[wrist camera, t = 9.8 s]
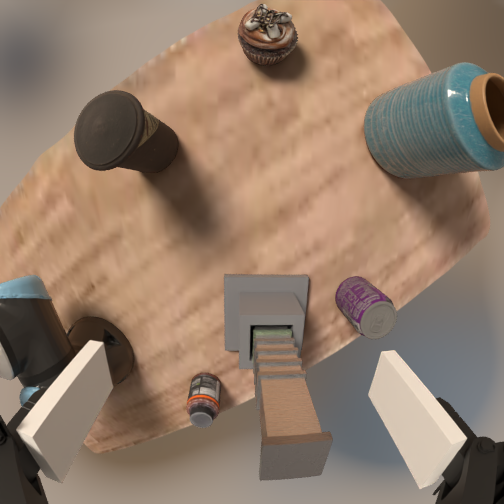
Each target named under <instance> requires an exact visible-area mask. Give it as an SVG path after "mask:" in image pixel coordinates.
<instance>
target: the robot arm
mask: <svg viewBox="0 0 504 504" xmlns="http://www.w3.org/2000/svg"><path fill="white" fill-rule="evenodd" d="M133 362H134V357H133V351H132V348H131V346H130V344H129V342H128V340H127V339H126V337H125V336H124V335H123V333H122V332H121V331H120V330H119V329H118V328H116V327H115V326H114V325H112V324H111V323H109V322H108V321H106V320H103V319H100V318H97V317H85V318H82V319H80V320H78V321H77V322H76V323H75V324H74V325H73V326H72V327H71V328H70V329H69V331H68V333H67V334H66V332H65V330H64V328H63V326H62V323H61V321H60V319H59V317H58V315H57V312H56V310H55V308H54V306H53V303H52V298H51V297H50V296H49V294H48V292H47V290H46V288H45V285H44V283H43V281H42V279H41V278H40V277H38V276H36V275H29V276H24V277H21V278H17V279H14V280H10V281H7V282H4V283H1V284H0V377H1V378H4V379H7V380H12V379H14V378H15V377H16V376H17V377H18V378H19V380H20V382H21V383H22V385H23V387H24V388H23V389H22V390H21V394H20V400H21V401H20V403H21V406H22V407H21V408H20V410H19V411H18V412H17V413H16V414H15V416H14V417H13V418H12V419H11V421H10V422H9V423H8V424H7V426H6V424H5V422H4V421H3V419H2V417H1V415H0V504H48V501H47V498H46V495H45V492H44V489H43V486H42V483H41V480H40V478H39V476H38V474H37V473H38V471H39V470H40V469H41V470H42V471H43V473H44V474H45V476H46V477H48V478H50V479H52V480H55V481H57V482H60V483H63V481H64V479H65V477H66V475H67V473H68V471H69V469H70V467H71V465H72V463H73V461H74V459H75V457H76V455H77V453H78V451H79V449H80V447H81V446H82V444H83V442H84V440H85V438H86V436H87V434H88V432H89V431H90V429H91V427H92V425H93V423H94V421H95V419H96V418H97V416H98V414H99V412H100V410H101V409H102V407H103V405H104V403H105V401H106V400H107V398H108V396H109V394H110V393H111V391H112V389H113V387H114V386H115V385H116V384H119V383H121V382H122V381H124V380H125V379H126V378H127V376H128V375H129V373H130V371H131V369H132V367H133ZM368 396H369V397H370V399H371V401H372V403H373V405H374V406H375V408H376V410H377V412H378V413H379V415H380V417H381V419H382V420H383V422H384V424H385V426H386V428H387V429H388V431H389V433H390V435H391V437H392V438H393V440H394V442H395V444H396V446H397V448H398V449H399V451H400V453H401V455H402V457H403V458H404V460H405V462H406V464H407V466H408V468H409V470H410V471H411V473H412V475H413V477H414V479H415V481H416V483H417V485H418V487H419V489H421V488H424V487H426V486H429V485H431V484H434V483H435V482H436V481H437V480H438V478H439V477H440V476H441V475H442V476H443V477H444V481H443V482H442V483H441V484H440V486H439V487H438V488H437V489H436V490H435V492H434V493H433V495H435V494H436V493H437V492H438V491H439V490H440V491H439V494H438V498H437V500H436V504H504V442H498V443H495V442H494V441H493V440H492V439H490V438H487V437H477V436H476V435H475V434H474V433H473V431H472V430H471V429H470V428H469V427H468V425H467V424H466V423H465V422H464V421H463V419H462V418H461V417H459V415H458V413H457V412H455V410H454V409H453V407H451V405H450V404H449V403H448V402H446V401H445V400H443V399H441V398H436V399H435V397H434V396H433V395H432V394H431V393H430V392H429V390H428V389H427V388H426V387H425V385H424V384H423V383H422V382H421V381H420V380H419V378H418V377H417V376H416V375H415V374H414V373H413V371H412V370H411V369H410V368H409V367H408V366H407V364H406V363H405V362H404V361H403V360H402V359H401V357H400V356H399V355H398V354H397V353H396V352H395V350H393V351H383V352H381V355H380V359H379V362H378V365H377V369H376V372H375V375H374V379H373V382H372V385H371V388H370V391H369V394H368Z"/></svg>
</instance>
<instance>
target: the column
mask: <svg viewBox="0 0 504 504" xmlns="http://www.w3.org/2000/svg"><path fill="white" fill-rule="evenodd" d="M291 336H292V331H291V329H288V327H287V325H255V330H253V358H252V362H253V374H254V385H255V397H256V410H259V413H260V424H261V434H262V442H261V455H260V468H259V476H260V480H279V479H291V478H302V477H311V476H318V475H321V474H322V471H323V468H324V465H325V462H326V459H327V456H328V453H329V450H330V447H331V444H332V441H333V439H332V436H331V433H330V432H322V431H321V428H320V424H319V421H318V418H317V415H316V412H315V409H314V406H313V403H312V400H311V397H310V394H309V391H308V388H307V385H306V375H307V374H306V370H302V369H301V368H302V359H301V358H298V347H294V346H295V339H294V338H291Z"/></svg>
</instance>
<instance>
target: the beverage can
mask: <svg viewBox="0 0 504 504" xmlns="http://www.w3.org/2000/svg"><path fill="white" fill-rule="evenodd" d="M335 299H336V304H337V306H338V308H339V309H340V310H341V311H342V313H343V314H344V315H345V316H346V318H347V319H348V320H349V321H350V323H351V324H352V325H353V327H354V328H355V329H356V330H357V332H359V333H360V334H361V335H364V336H366V337H367V338H370V339H379V338H382V337H384V336H385V335H387V334H388V333H389V332H390V331H391V330H392V329H393V327H394V325H395V323H396V320H397V312H396V309H395V307H394V305H393V303H392V301H391V300H390V299H389V298H388V297H387V296H386V295H385V294H383V293H382V292H381V291H380V290H378V289H377V288H376V287H374V286H373V285H372V284H371V283H369V282H368V281H367V280H366V279H364V278H362V277H358V276H355V277H350V278H348V279H346V280H345V281H343V282H342V283H341V284H340V286H339V287H338V289H337V292H336V297H335Z"/></svg>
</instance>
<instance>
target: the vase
mask: <svg viewBox="0 0 504 504" xmlns="http://www.w3.org/2000/svg"><path fill="white" fill-rule="evenodd" d="M364 134H365V139H366V142H367V145H368V148H369V150H370V152H371V154H372V155H373V157H374V159H375V160H376V161H377V162H378V164H379V165H380V166H381V167H382V168H383V169H385V170H386V171H387V172H389V173H390V174H392V175H394V176H397V177H400V178H405V179H412V178H422V177H433V176H439V175H445V174H455V173H467V172H477V171H494V170H498V169H500V168H502V167H504V78H503V77H502V76H500V75H498V74H495V73H487V72H486V71H485V70H483V69H482V68H480V67H478V66H477V65H474V64H471V63H458V64H455V65H453V66H450V67H448V68H446V69H443V70H440V71H438V72H435V73H432V74H430V75H427V76H425V77H422V78H420V79H417V80H415V81H412V82H410V83H406V84H404V85H401V86H399V87H397V88H394V89H392V90H390V91H388V92H386V93H383V94H381V95H380V96H378V97H377V98H375V99H374V100H373V101H372V102H371V104H370V105H369V107H368V109H367V111H366V115H365V119H364Z"/></svg>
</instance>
